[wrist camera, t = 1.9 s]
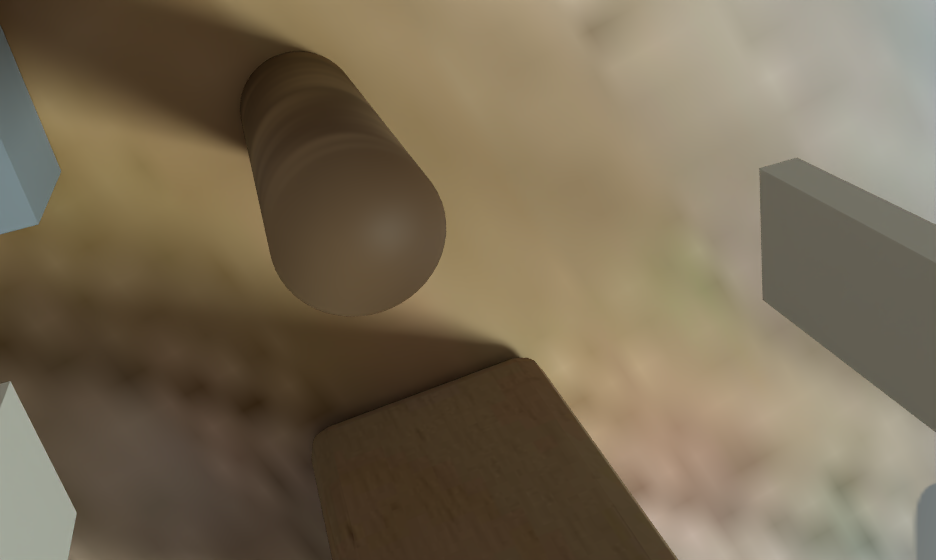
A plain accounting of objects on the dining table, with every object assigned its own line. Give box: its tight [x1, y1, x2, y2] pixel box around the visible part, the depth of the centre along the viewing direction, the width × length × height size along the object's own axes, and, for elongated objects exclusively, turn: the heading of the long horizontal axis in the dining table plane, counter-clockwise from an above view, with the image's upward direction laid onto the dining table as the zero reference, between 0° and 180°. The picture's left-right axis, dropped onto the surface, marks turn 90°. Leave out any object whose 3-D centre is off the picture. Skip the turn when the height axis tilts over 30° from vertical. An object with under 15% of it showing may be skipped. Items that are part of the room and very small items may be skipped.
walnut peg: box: [240, 52, 446, 316], centre depth 25 cm, size 4×4×12 cm
